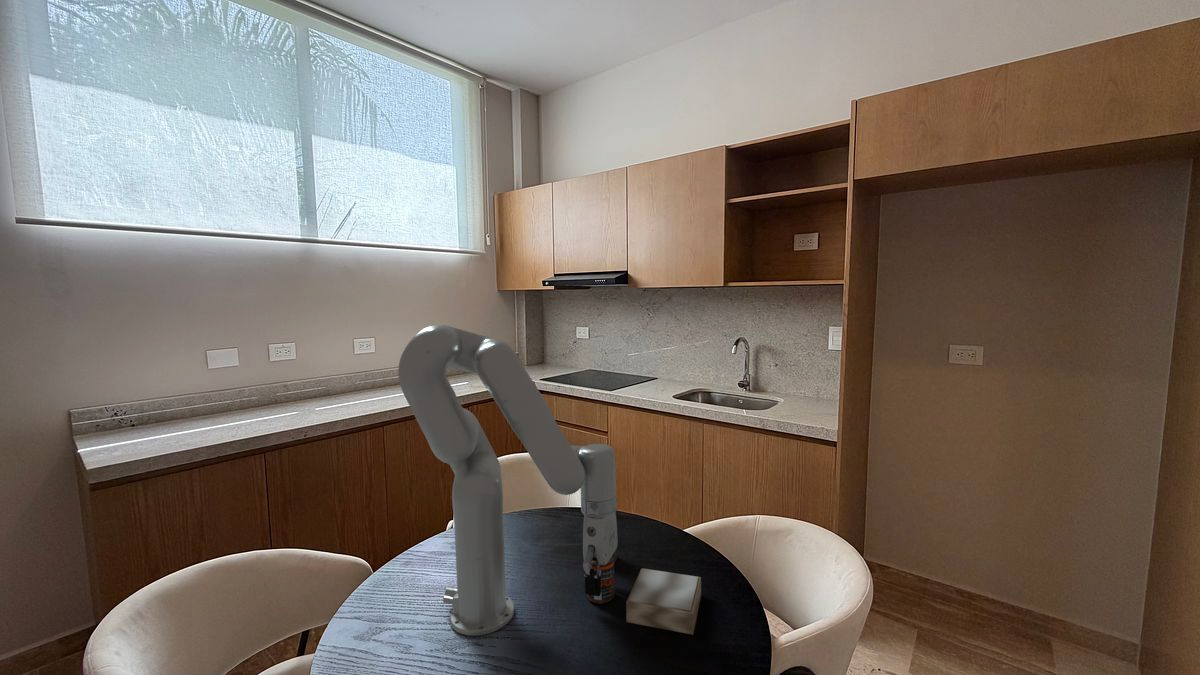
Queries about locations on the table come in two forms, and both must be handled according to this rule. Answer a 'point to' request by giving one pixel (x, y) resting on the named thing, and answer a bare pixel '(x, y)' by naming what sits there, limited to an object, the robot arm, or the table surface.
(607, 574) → the supplement bottle
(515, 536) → the table surface
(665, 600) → the grey square box
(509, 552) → the table surface
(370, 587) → the table surface
